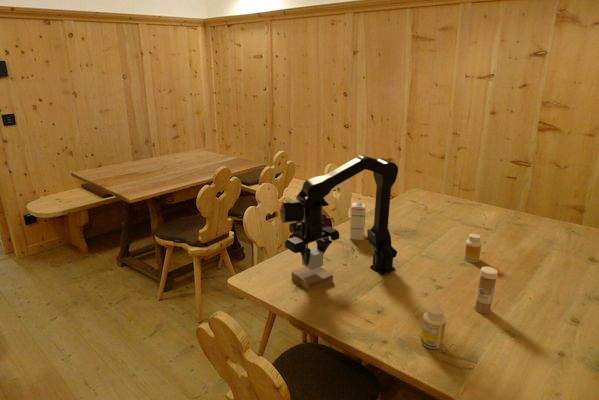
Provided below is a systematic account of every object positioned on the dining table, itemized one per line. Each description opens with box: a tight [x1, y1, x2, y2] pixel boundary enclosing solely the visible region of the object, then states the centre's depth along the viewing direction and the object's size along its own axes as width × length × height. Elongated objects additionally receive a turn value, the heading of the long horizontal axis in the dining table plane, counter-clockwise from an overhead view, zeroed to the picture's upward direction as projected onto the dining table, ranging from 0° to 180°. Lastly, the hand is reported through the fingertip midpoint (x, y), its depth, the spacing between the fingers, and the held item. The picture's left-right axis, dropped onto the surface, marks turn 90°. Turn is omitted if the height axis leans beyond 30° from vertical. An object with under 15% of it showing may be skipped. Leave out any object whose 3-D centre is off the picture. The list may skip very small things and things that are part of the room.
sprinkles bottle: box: [474, 266, 499, 314], centre depth 119 cm, size 5×5×13 cm
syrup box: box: [349, 202, 367, 241], centre depth 168 cm, size 6×6×14 cm
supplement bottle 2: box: [463, 233, 482, 263], centre depth 150 cm, size 5×5×10 cm
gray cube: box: [301, 246, 324, 270], centre depth 134 cm, size 5×5×5 cm
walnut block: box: [291, 266, 334, 292], centre depth 136 cm, size 10×10×3 cm
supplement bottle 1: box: [420, 305, 447, 350], centre depth 105 cm, size 6×6×10 cm
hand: (312, 262), depth 135 cm, fingers closed on gray cube, 5 cm apart
